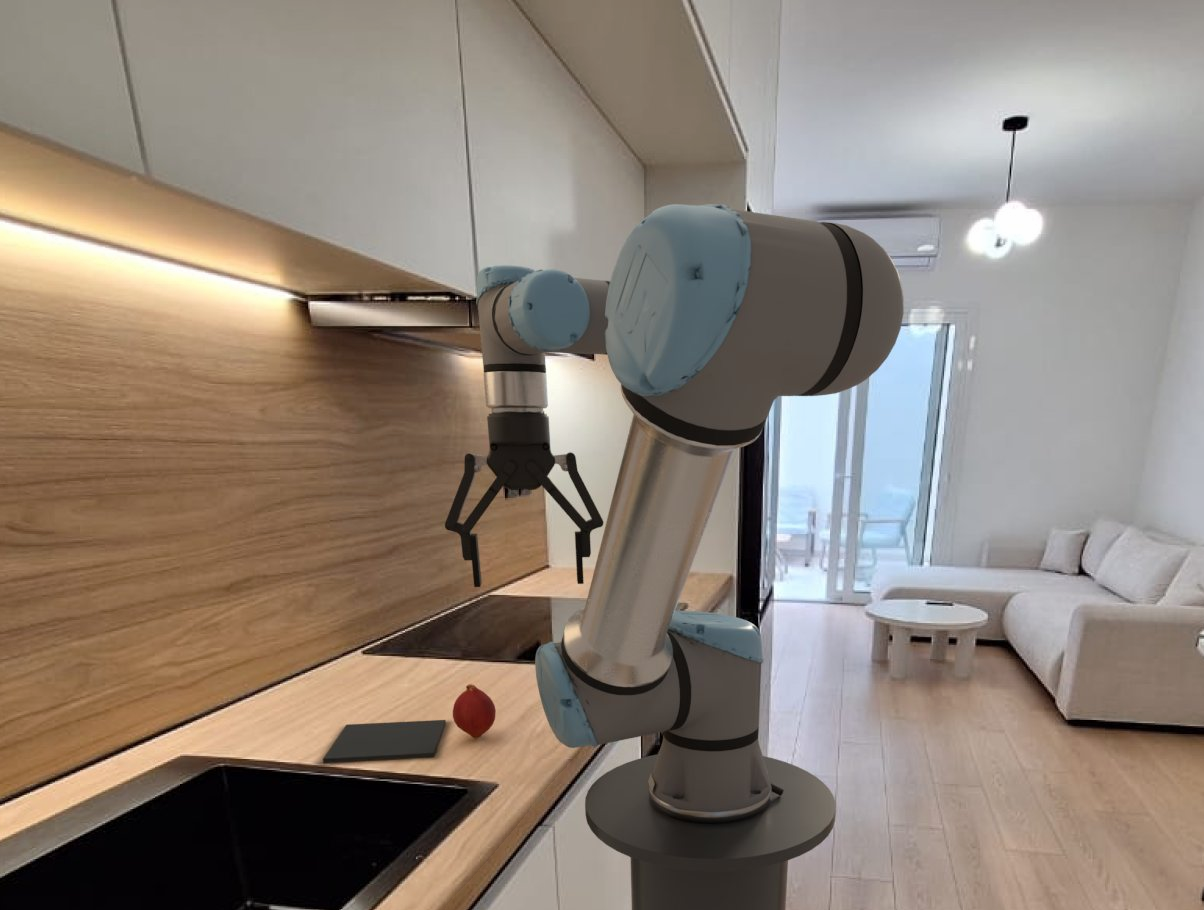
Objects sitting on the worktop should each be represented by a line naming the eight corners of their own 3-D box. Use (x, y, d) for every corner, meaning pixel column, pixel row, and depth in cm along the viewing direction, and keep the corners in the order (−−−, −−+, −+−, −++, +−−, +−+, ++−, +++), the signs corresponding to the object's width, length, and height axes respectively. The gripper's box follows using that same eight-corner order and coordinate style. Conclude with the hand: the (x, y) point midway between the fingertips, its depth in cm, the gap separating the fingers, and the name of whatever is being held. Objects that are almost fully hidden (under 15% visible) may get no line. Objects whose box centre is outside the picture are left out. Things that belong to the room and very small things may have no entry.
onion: (465, 729, 117) (460, 676, 114) (503, 731, 116) (499, 678, 113) (448, 743, 112) (442, 688, 109) (488, 746, 111) (483, 690, 108)
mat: (445, 723, 119) (445, 719, 119) (434, 756, 107) (433, 752, 107) (346, 728, 117) (346, 724, 117) (323, 762, 105) (322, 758, 105)
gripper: (615, 411, 105) (620, 576, 113) (418, 412, 102) (436, 581, 109) (620, 410, 98) (625, 585, 106) (409, 410, 95) (429, 592, 102)
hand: (529, 584), depth 107 cm, fingers open, 13 cm apart
